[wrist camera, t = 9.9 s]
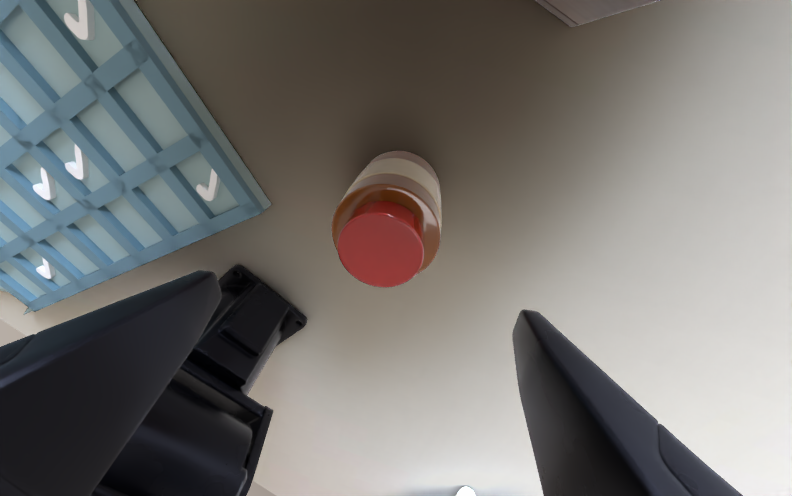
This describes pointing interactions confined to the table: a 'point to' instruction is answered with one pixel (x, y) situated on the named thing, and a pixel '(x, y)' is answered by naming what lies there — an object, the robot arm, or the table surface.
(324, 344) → the table surface
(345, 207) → the spice bottle
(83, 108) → the calendar
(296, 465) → the table surface
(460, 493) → the white animal figurine
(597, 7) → the cabinet
